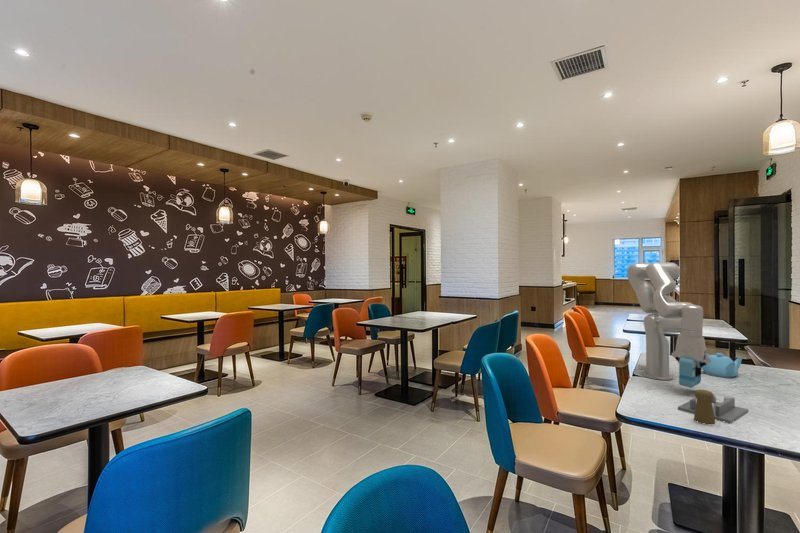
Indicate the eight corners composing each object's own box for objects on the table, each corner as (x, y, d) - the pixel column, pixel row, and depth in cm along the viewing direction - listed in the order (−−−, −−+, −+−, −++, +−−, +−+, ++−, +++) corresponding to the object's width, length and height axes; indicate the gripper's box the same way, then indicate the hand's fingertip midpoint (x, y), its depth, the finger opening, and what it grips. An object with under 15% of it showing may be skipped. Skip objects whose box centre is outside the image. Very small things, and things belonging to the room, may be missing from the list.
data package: (691, 388, 160) (691, 360, 160) (678, 385, 164) (679, 358, 163) (701, 382, 167) (701, 355, 166) (688, 379, 171) (689, 353, 170)
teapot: (705, 368, 204) (705, 348, 204) (742, 374, 192) (742, 353, 192) (696, 373, 195) (696, 352, 195) (735, 380, 183) (734, 358, 183)
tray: (677, 409, 146) (677, 396, 146) (697, 399, 157) (697, 387, 157) (730, 423, 133) (730, 409, 133) (748, 411, 143) (748, 398, 143)
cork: (689, 418, 138) (689, 388, 138) (704, 417, 138) (704, 387, 138) (703, 425, 132) (703, 393, 132) (719, 424, 132) (719, 393, 132)
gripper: (665, 330, 169) (664, 370, 170) (712, 338, 155) (710, 381, 156) (672, 328, 173) (671, 367, 174) (718, 335, 159) (717, 378, 160)
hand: (690, 374), depth 165 cm, fingers closed on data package, 4 cm apart
